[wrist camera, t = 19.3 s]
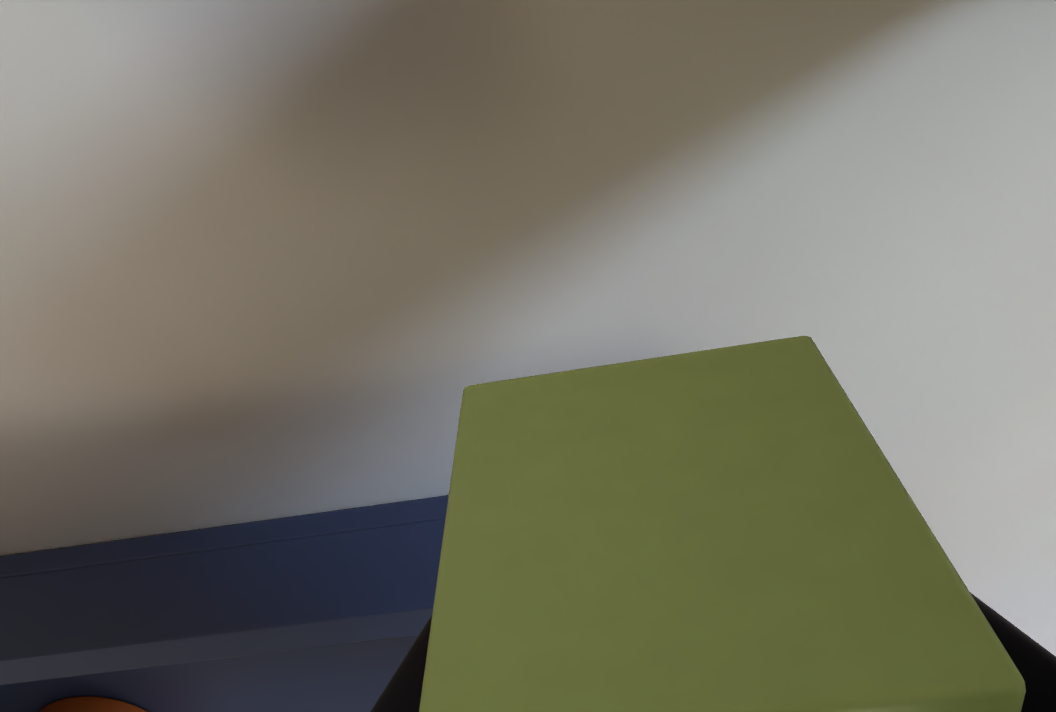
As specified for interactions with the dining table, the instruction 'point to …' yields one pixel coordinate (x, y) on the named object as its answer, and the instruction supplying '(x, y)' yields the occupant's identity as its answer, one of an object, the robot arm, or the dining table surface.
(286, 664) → the tray
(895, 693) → the sponge
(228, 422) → the dining table surface
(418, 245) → the dining table surface
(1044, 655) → the robot arm
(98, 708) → the orange flat cylinder
